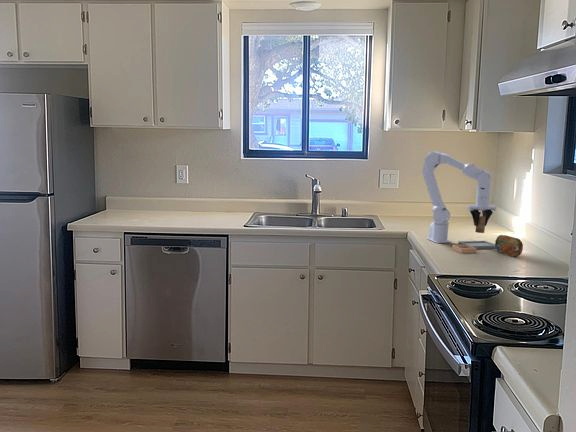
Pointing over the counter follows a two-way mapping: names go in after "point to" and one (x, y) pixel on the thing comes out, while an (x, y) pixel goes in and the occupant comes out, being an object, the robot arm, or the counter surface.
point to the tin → (509, 245)
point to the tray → (478, 244)
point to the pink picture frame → (464, 248)
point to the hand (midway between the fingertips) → (480, 225)
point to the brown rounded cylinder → (481, 225)
